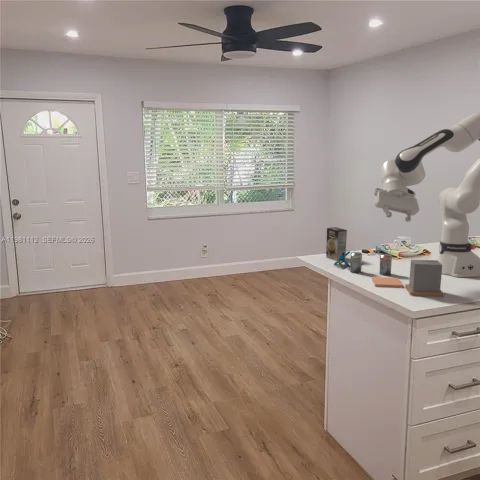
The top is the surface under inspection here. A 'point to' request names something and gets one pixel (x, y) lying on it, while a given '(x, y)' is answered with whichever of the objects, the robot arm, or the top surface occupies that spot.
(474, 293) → the top surface
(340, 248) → the coffee box
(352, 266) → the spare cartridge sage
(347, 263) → the blue toy figure
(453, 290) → the top surface
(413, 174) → the robot arm
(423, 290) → the block
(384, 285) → the mat
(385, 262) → the terracotta cartridge
